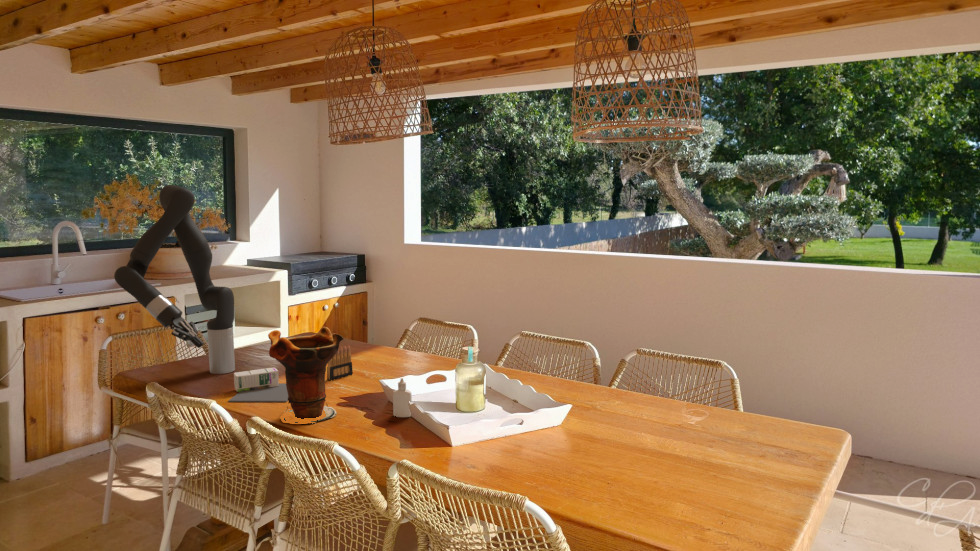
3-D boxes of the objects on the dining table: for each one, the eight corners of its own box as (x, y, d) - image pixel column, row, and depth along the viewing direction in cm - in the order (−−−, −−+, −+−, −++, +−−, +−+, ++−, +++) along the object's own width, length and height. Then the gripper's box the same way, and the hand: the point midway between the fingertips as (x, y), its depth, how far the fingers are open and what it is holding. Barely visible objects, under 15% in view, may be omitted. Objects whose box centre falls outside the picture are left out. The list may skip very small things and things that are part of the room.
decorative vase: (360, 412, 213) (353, 326, 209) (293, 434, 198) (284, 342, 193) (325, 398, 228) (318, 317, 224) (261, 418, 213) (252, 331, 208)
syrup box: (236, 376, 234) (278, 370, 241) (233, 372, 239) (275, 367, 246) (236, 392, 235) (279, 386, 242) (234, 388, 240) (276, 382, 247)
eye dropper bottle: (400, 412, 215) (399, 375, 213) (414, 415, 212) (413, 378, 210) (391, 416, 211) (390, 378, 210) (404, 419, 208) (403, 381, 207)
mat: (250, 384, 246) (250, 383, 246) (303, 384, 245) (303, 383, 245) (228, 402, 226) (228, 400, 226) (286, 402, 225) (286, 400, 225)
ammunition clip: (330, 380, 250) (329, 349, 249) (327, 380, 251) (325, 348, 250) (352, 374, 258) (351, 343, 257) (349, 373, 260) (348, 343, 258)
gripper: (161, 306, 225) (200, 342, 227) (180, 300, 239) (216, 334, 240) (147, 322, 226) (185, 358, 228) (166, 314, 239) (202, 348, 241)
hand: (201, 345), depth 234 cm, fingers closed
